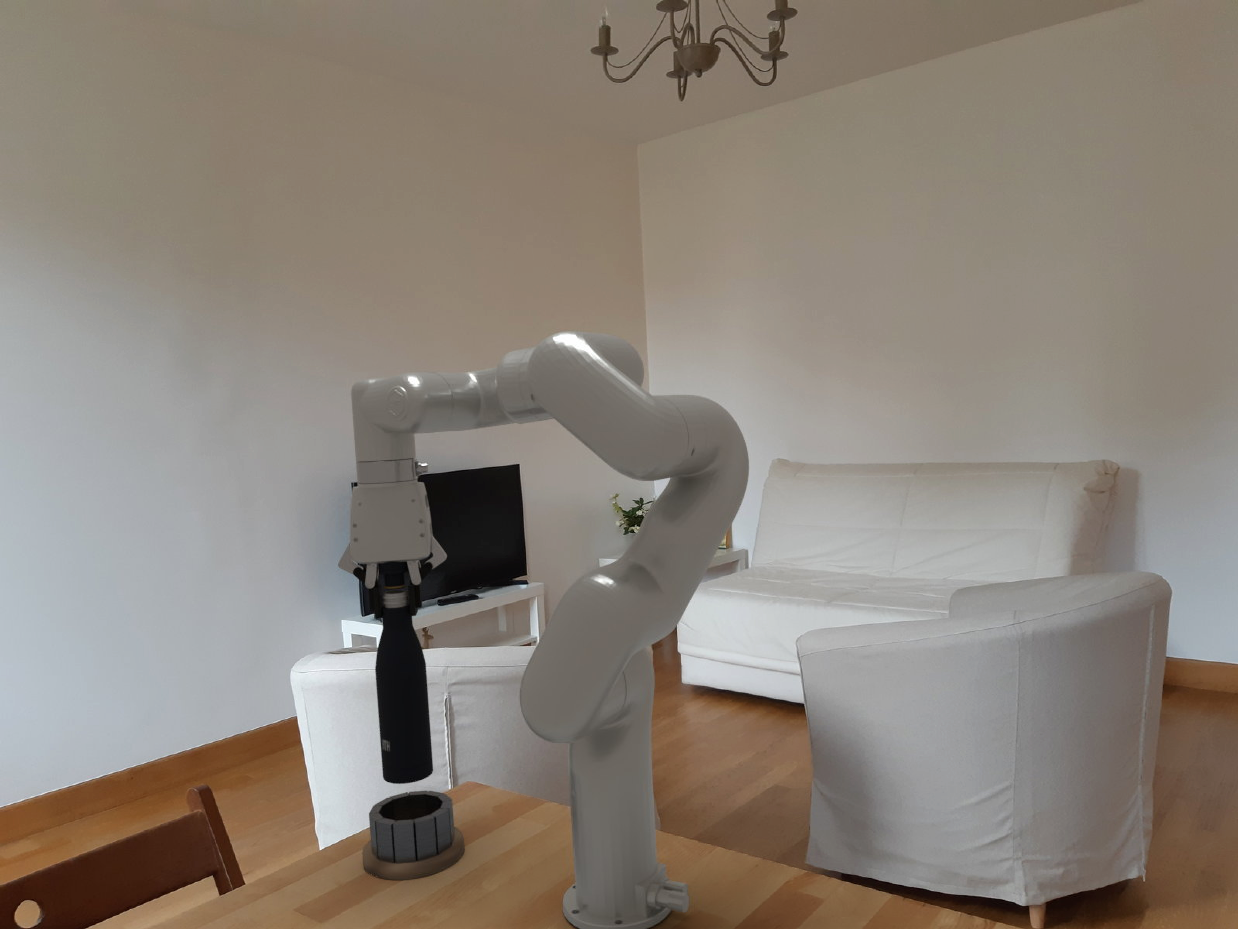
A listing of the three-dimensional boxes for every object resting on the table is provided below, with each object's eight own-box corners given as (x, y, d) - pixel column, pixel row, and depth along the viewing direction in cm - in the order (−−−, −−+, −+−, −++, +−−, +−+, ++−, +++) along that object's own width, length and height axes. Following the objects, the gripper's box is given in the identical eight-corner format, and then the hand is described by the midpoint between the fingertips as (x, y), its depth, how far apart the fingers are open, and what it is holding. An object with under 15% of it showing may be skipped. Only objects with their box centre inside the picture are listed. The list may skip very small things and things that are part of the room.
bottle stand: (484, 842, 125) (481, 795, 125) (420, 888, 114) (416, 836, 113) (409, 827, 131) (406, 781, 131) (341, 868, 120) (337, 819, 120)
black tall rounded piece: (439, 764, 125) (424, 542, 123) (424, 783, 119) (408, 549, 117) (392, 765, 126) (377, 544, 124) (375, 784, 119) (358, 551, 118)
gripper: (454, 468, 125) (463, 604, 126) (326, 476, 123) (336, 614, 124) (450, 471, 117) (460, 616, 118) (314, 480, 115) (325, 627, 116)
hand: (396, 613), depth 121 cm, fingers closed on black tall rounded piece, 3 cm apart
